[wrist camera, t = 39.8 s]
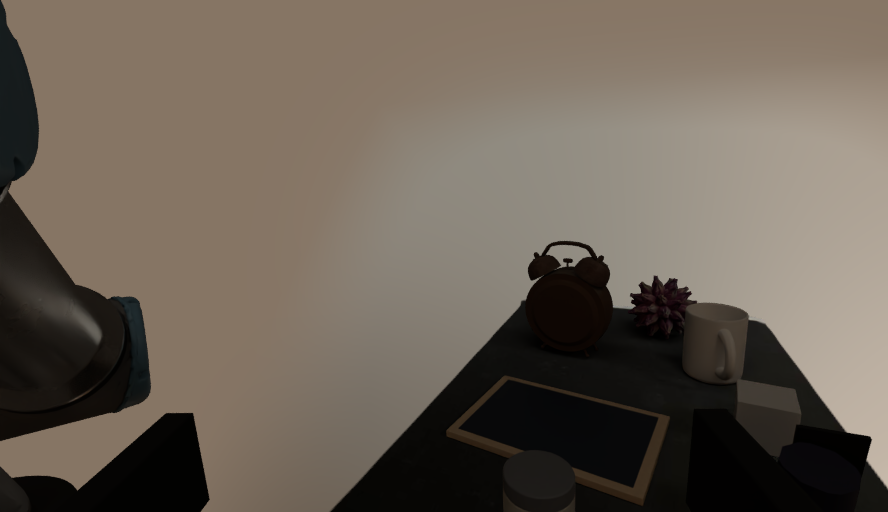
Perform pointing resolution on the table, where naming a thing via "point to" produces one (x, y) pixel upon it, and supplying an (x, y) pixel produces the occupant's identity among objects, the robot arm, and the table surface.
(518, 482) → the grey-capped cream cylinder
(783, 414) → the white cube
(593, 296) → the alarm clock
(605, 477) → the picture frame
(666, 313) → the flower
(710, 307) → the mug
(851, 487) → the speaker
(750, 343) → the table surface
